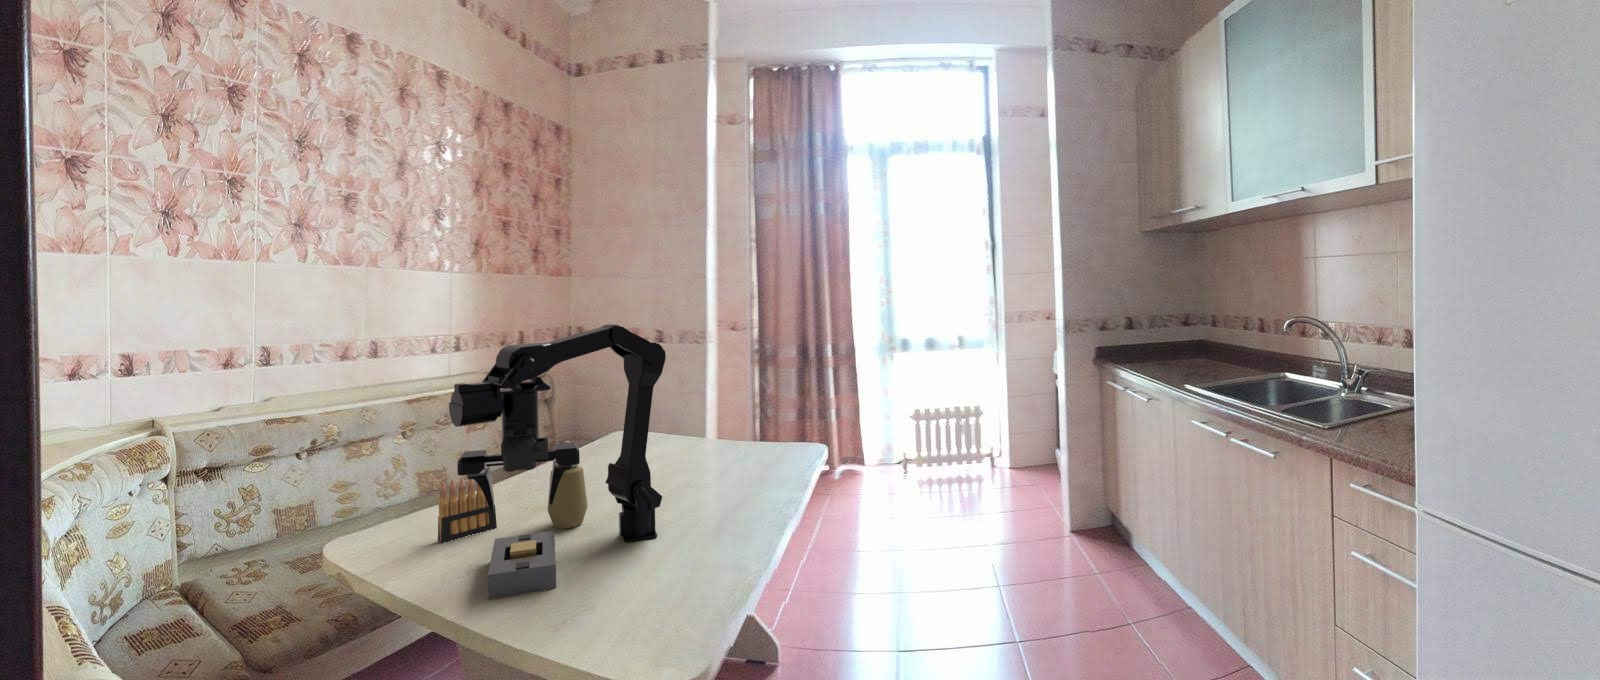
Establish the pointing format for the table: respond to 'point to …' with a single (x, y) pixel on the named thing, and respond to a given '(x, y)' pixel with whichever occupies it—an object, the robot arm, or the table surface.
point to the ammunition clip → (463, 512)
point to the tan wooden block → (523, 549)
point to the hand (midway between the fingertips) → (522, 507)
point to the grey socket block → (522, 566)
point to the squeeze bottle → (569, 499)
